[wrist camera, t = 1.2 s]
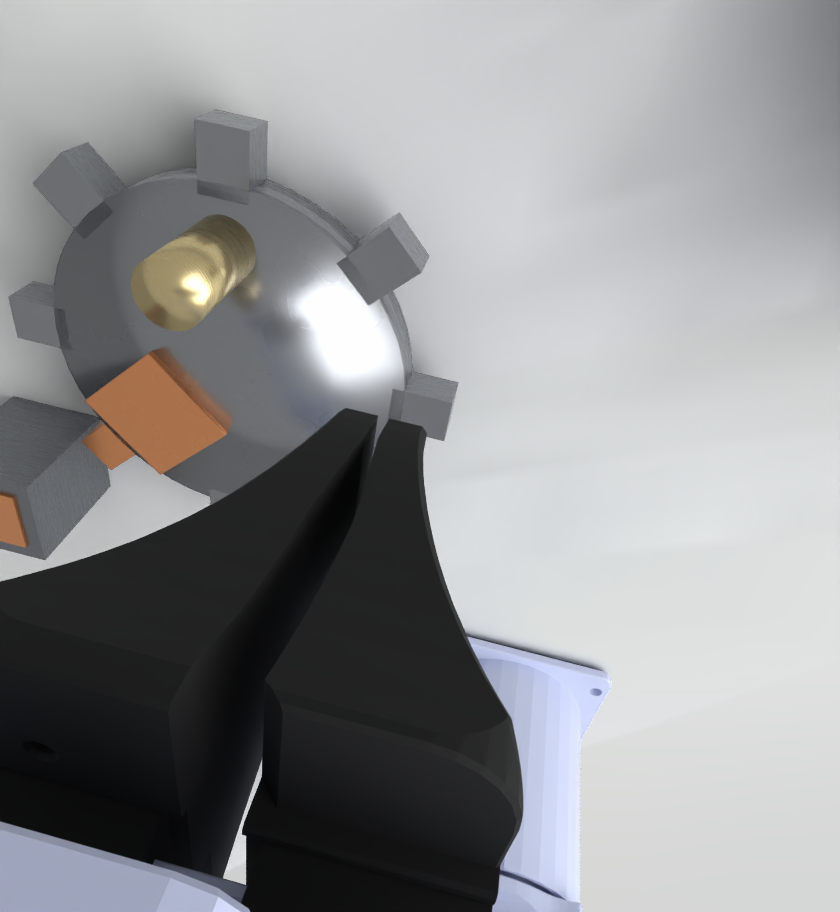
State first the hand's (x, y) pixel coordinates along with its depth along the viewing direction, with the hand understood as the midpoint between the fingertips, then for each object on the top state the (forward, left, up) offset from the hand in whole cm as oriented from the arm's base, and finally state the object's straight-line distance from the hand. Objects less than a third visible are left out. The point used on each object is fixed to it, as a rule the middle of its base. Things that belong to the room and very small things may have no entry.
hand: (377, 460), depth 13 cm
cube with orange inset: (-11, +14, -10) cm, 20 cm away
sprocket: (-4, +6, -8) cm, 11 cm away
